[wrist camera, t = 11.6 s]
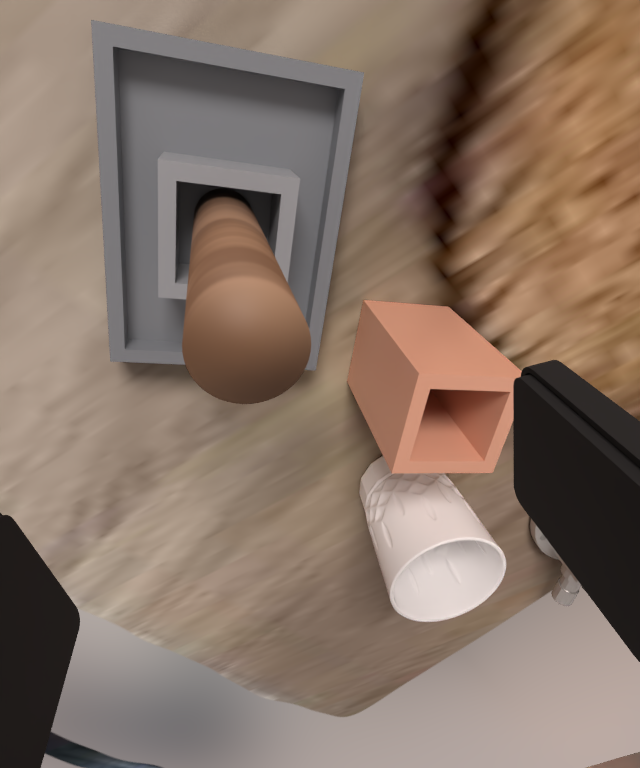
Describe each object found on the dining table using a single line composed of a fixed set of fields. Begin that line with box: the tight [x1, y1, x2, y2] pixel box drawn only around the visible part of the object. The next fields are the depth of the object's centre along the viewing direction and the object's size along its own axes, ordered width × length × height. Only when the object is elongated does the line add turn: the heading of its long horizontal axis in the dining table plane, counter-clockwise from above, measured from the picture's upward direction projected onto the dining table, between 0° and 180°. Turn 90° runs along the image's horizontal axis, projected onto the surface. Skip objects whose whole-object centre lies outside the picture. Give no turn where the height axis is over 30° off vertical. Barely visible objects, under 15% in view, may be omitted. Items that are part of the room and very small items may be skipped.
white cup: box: [359, 456, 506, 622], centre depth 36 cm, size 8×8×10 cm
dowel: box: [182, 188, 311, 404], centre depth 20 cm, size 3×3×17 cm
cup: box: [347, 300, 522, 474], centre depth 30 cm, size 6×6×10 cm
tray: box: [91, 20, 364, 370], centre depth 26 cm, size 16×12×4 cm
